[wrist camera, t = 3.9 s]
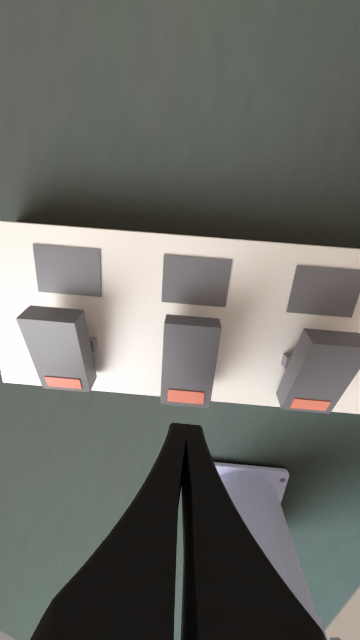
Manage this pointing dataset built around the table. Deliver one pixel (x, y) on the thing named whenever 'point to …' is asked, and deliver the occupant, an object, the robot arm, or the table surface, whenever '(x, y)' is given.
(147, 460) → the table surface
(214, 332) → the block
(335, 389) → the rocker
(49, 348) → the block
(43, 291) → the power strip
